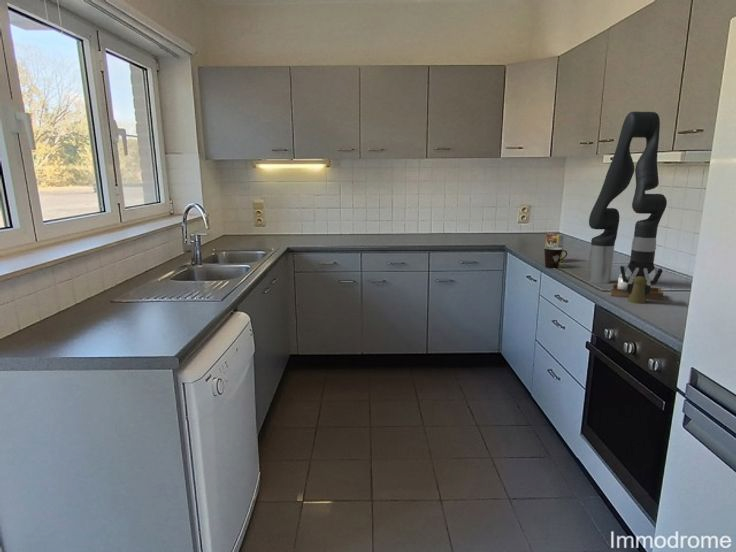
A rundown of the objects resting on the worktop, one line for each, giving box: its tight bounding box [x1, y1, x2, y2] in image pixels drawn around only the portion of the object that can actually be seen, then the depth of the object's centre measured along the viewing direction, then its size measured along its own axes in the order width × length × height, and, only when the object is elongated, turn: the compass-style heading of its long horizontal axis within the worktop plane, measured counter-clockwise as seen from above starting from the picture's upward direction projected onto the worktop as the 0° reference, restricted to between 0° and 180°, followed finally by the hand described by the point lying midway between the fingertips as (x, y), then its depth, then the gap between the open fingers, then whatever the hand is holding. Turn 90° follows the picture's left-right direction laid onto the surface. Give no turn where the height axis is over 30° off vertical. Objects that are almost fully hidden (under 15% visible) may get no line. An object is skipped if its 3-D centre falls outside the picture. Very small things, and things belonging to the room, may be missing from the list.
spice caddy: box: [610, 283, 665, 302], centre depth 180 cm, size 9×17×4 cm, turn 64°
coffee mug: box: [543, 247, 568, 269], centre depth 238 cm, size 12×9×10 cm
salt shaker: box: [617, 272, 631, 290], centre depth 181 cm, size 5×5×8 cm
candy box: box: [544, 232, 565, 263], centre depth 253 cm, size 9×4×15 cm, turn 26°
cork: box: [627, 276, 647, 305], centre depth 171 cm, size 6×6×11 cm
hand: (637, 293), depth 172 cm, fingers closed on cork, 4 cm apart
